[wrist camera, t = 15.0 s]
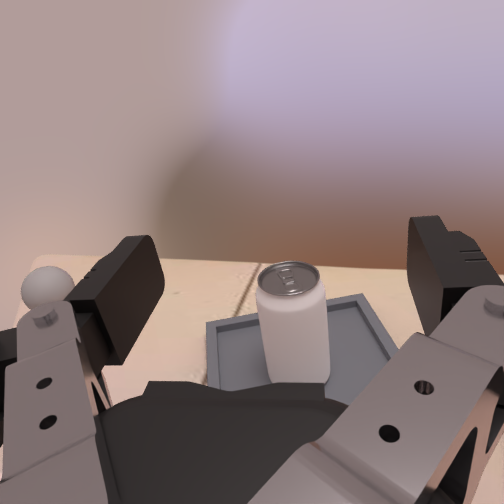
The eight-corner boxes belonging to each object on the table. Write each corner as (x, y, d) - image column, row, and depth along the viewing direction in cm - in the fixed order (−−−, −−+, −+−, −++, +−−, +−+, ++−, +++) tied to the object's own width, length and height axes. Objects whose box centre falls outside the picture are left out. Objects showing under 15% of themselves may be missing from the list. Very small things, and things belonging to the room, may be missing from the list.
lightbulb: (91, 318, 58) (64, 252, 53) (96, 342, 53) (66, 272, 48) (47, 334, 56) (13, 267, 51) (47, 360, 51) (10, 289, 46)
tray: (362, 307, 52) (362, 293, 51) (446, 444, 34) (448, 427, 33) (209, 335, 51) (206, 322, 50) (214, 491, 34) (209, 475, 32)
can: (274, 403, 39) (258, 304, 33) (264, 357, 45) (248, 265, 39) (339, 390, 39) (334, 289, 34) (320, 345, 45) (313, 253, 39)
